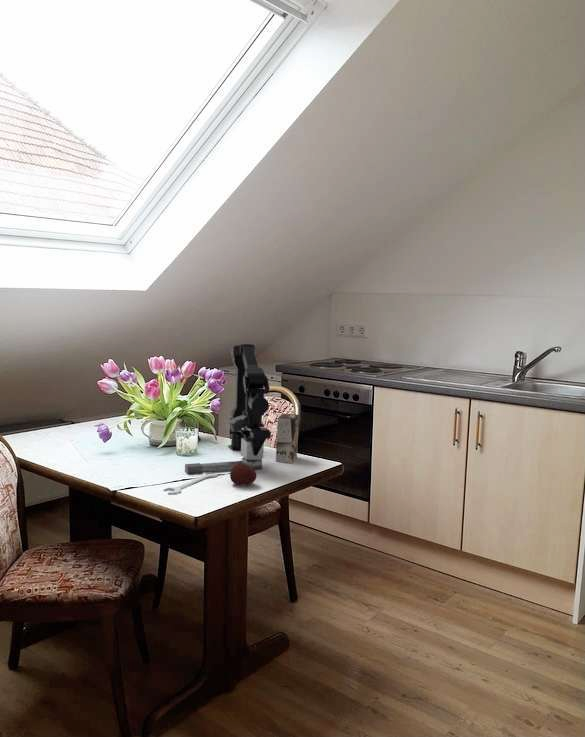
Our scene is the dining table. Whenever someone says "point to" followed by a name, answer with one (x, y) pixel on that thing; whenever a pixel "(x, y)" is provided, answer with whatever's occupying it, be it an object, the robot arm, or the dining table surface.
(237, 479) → the potato
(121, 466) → the dining table surface
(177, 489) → the wrench
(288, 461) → the coffee box
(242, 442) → the socket
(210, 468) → the ratchet
